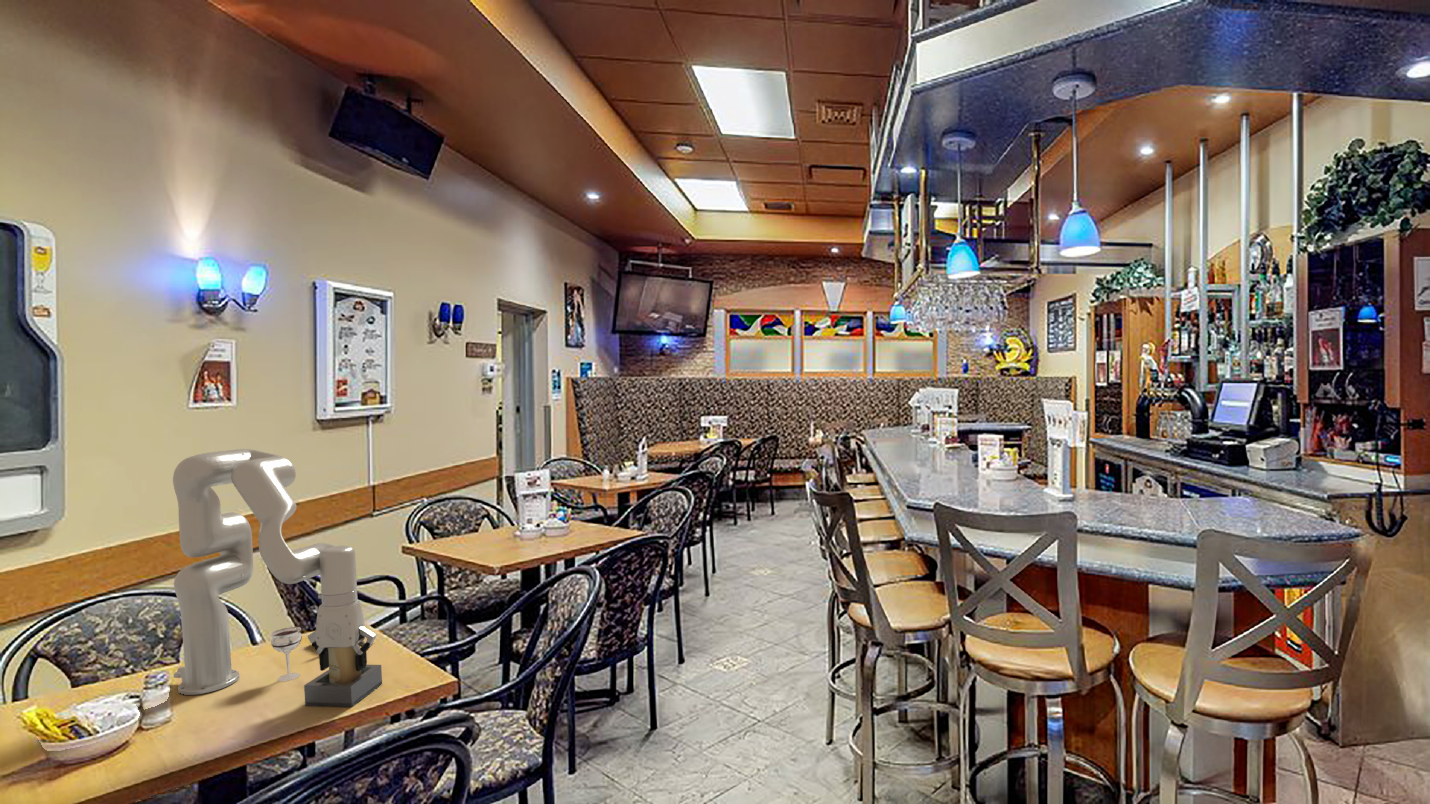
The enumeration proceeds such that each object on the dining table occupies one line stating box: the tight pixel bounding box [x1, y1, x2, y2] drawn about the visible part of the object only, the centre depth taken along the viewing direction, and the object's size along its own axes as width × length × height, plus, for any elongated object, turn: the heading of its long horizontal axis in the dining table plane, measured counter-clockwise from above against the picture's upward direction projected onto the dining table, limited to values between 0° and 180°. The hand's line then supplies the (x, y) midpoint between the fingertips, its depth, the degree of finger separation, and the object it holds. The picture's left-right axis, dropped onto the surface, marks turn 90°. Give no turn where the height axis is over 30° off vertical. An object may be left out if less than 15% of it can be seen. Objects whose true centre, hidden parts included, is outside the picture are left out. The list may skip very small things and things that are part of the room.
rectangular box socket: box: [303, 664, 383, 708], centre depth 166 cm, size 12×12×5 cm
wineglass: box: [270, 626, 303, 682], centre depth 177 cm, size 7×7×12 cm
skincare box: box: [328, 643, 361, 683], centre depth 166 cm, size 6×4×12 cm
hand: (343, 668), depth 166 cm, fingers open, 8 cm apart
